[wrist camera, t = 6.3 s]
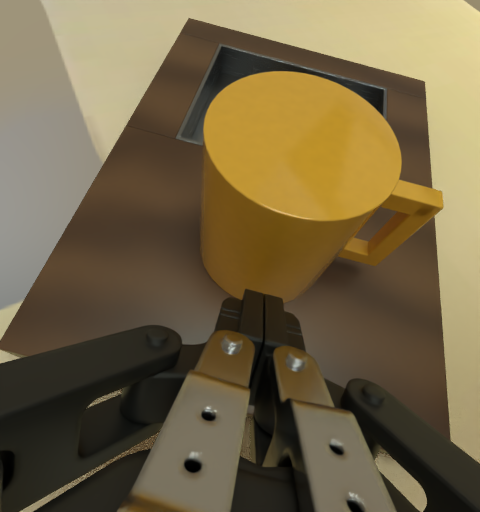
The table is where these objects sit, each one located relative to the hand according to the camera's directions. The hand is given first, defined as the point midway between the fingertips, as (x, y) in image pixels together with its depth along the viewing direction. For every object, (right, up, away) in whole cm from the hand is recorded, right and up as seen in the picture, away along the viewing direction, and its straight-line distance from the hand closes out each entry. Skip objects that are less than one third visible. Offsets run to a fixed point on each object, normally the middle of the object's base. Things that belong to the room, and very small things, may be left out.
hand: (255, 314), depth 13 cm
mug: (+2, +3, +7) cm, 7 cm away
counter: (+2, +7, +12) cm, 14 cm away
